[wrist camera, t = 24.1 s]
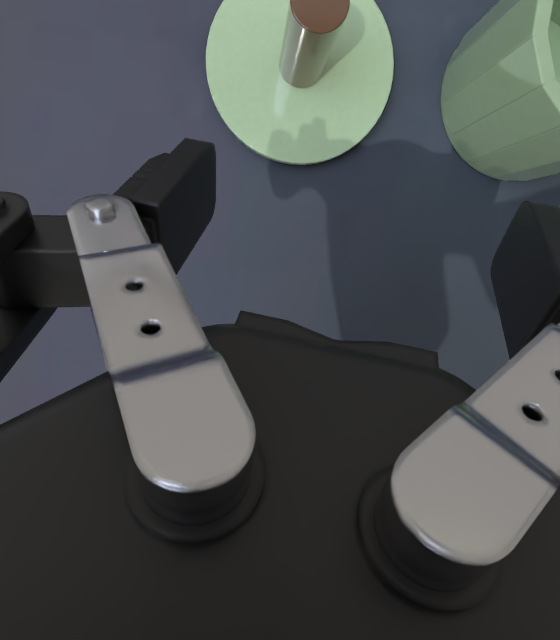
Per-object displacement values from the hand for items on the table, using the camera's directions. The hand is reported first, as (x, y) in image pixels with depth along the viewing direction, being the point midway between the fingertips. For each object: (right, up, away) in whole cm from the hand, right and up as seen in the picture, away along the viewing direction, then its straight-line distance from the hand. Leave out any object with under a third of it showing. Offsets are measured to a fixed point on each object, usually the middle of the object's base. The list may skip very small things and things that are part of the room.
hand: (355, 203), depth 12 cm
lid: (-1, +12, +15) cm, 19 cm away
